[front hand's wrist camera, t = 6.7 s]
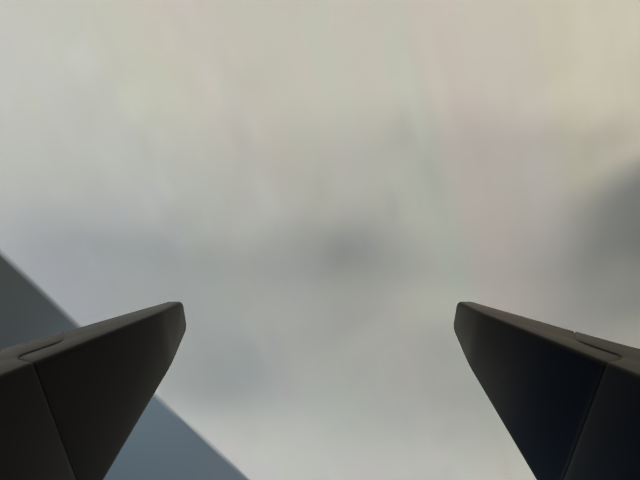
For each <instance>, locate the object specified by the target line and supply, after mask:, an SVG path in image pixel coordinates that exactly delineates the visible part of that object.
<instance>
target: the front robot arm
mask: <svg viewBox="0 0 640 480" xmlns="http://www.w3.org/2000/svg"><path fill="white" fill-rule="evenodd" d="M185 330H186V321H185V315H184V308H183V305H182V303H181V302H167V303H163V304H160V305H157V306H153V307H150V308H146V309H143V310H139V311H136V312H132V313H129V314H125V315H122V316H118V317H115V318H112V319H108V320H105V321H101V322H98V323H94V324H91V325H87V326H84V327H80V328H77V329H74V330H70V331H67V332H66V333H65V332H61V333H58V334H54V335H51V336H47V337H44V338H40V339H37V340H33V341H29V342H26V343H22V344H18V345H14V346H11V347H7V348H3V349H0V480H103V479H104V477H105V476H106V474H107V472H108V471H109V469H110V467H111V465H112V464H113V462H114V460H115V459H116V457H117V455H118V454H119V452H120V450H121V448H122V447H123V445H124V443H125V442H126V440H127V438H128V437H129V435H130V433H131V432H132V430H133V428H134V426H135V425H136V423H137V421H138V420H139V418H140V416H141V415H142V413H143V411H144V410H145V408H146V406H147V404H148V403H149V401H150V399H151V398H152V396H153V394H154V393H155V391H156V389H157V387H158V386H159V384H160V382H161V381H162V379H163V377H164V376H165V374H166V372H167V371H168V369H169V367H170V365H171V363H172V361H173V359H174V356H175V354H176V352H177V349H178V347H179V345H180V342H181V340H182V338H183V335H184V333H185ZM454 330H455V333H456V335H457V338H458V340H459V342H460V345H461V347H462V349H463V352H464V354H465V356H466V359H467V361H468V363H469V365H470V367H471V369H472V371H473V372H474V374H475V376H476V377H477V379H478V381H479V382H480V384H481V386H482V387H483V389H484V391H485V393H486V394H487V396H488V398H489V399H490V401H491V403H492V404H493V406H494V408H495V410H496V411H497V413H498V415H499V416H500V418H501V420H502V421H503V423H504V425H505V426H506V428H507V430H508V432H509V433H510V435H511V437H512V438H513V440H514V442H515V443H516V445H517V447H518V448H519V450H520V452H521V454H522V455H523V457H524V459H525V460H526V462H527V464H528V465H529V467H530V469H531V471H532V472H533V474H534V476H535V477H536V479H537V480H640V349H637V348H633V347H629V346H626V345H622V344H618V343H614V342H611V341H607V340H603V339H600V338H596V337H593V336H589V335H586V334H582V333H579V332H575V333H574V332H573V331H570V330H567V329H563V328H560V327H556V326H553V325H549V324H546V323H542V322H539V321H535V320H532V319H528V318H525V317H522V316H518V315H515V314H511V313H508V312H504V311H501V310H497V309H494V308H490V307H487V306H483V305H480V304H477V303H473V302H459V303H458V305H457V308H456V315H455V321H454Z"/></svg>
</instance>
